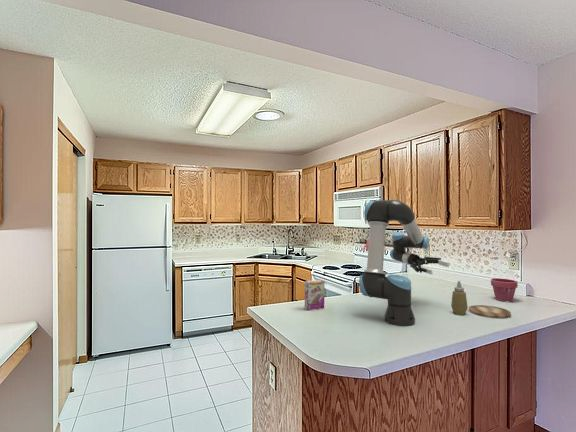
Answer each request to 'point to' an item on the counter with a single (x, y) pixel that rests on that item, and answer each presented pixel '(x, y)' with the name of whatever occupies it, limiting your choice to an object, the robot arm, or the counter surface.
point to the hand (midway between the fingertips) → (440, 268)
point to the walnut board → (489, 311)
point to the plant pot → (504, 288)
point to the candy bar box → (314, 294)
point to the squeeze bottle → (459, 300)
